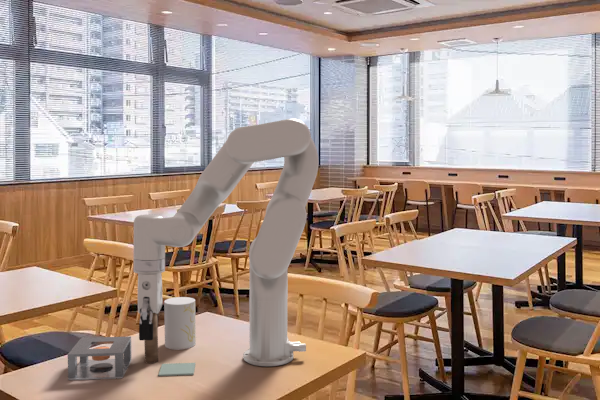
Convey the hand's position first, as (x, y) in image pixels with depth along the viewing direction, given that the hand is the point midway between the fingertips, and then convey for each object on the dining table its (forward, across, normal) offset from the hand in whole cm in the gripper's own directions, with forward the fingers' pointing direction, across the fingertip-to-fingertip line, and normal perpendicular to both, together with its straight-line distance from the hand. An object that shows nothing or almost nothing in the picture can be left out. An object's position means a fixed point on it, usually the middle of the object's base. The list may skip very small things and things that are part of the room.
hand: (149, 333), depth 147 cm
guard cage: (+7, -5, +10) cm, 14 cm away
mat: (+7, -7, -8) cm, 12 cm away
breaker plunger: (+4, -5, +10) cm, 12 cm away
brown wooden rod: (+7, 0, -1) cm, 7 cm away
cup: (+7, +12, -7) cm, 15 cm away
